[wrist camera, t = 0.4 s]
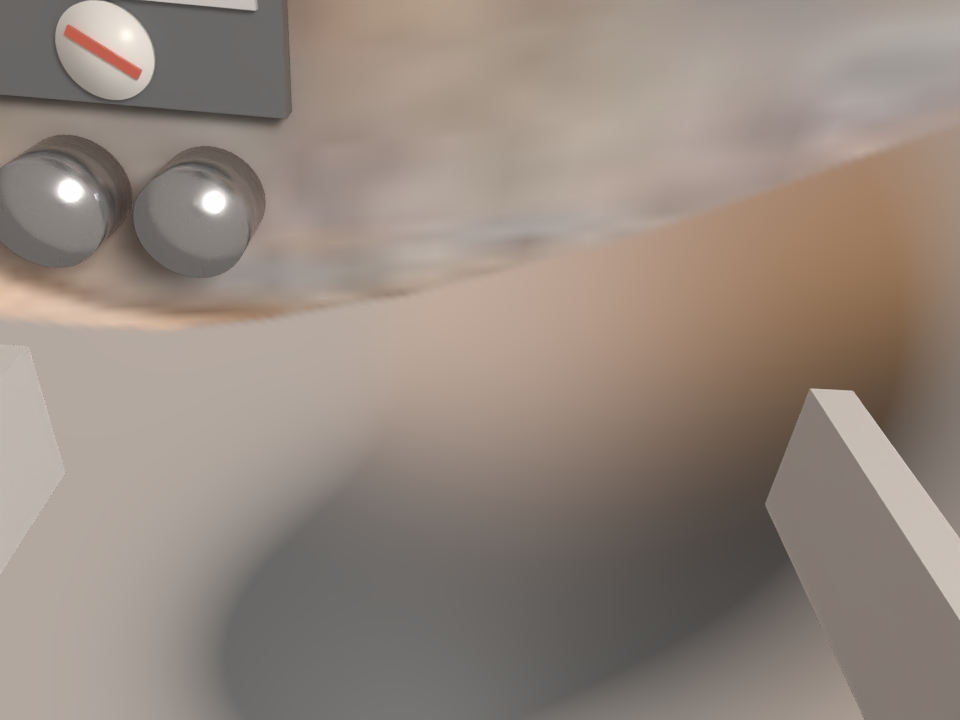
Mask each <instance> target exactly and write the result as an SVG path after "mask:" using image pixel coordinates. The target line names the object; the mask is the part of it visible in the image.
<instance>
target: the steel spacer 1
mask: <svg viewBox="0 0 960 720" xmlns="http://www.w3.org/2000/svg"><path fill="white" fill-rule="evenodd" d="M131 204H132V190H131V185H130V182H129V179H128V177H127V175H126V173H125V171H124V169H123V168H122V166H121V165H120V163H119V162H118V161H117V160H116V159H115V158H114V157H113V156H112V155H111V154H110V153H109V152H108V151H107V150H105V149H104V148H103V147H101V146H99V145H98V144H96V143H94V142H92V141H90V140H88V139H85V138H82V137H78V136H73V135H56V136H52V137H48V138H46V139H44V140H42V141H41V142H39V143H37V144H36V145H34V146H33V147H31V148H30V149H28V150H27V151H25V152H24V153H22V154H21V155H19V156H18V157H16V158H15V159H13V160H12V161H10V162H9V163H7V164H6V165H4V166H3V167H1V168H0V241H1V242H2V243H3V244H4V245H5V246H6V247H7V248H9V249H10V250H11V251H12V252H14V253H15V254H17V255H18V256H20V257H22V258H24V259H26V260H28V261H30V262H32V263H35V264H38V265H42V266H46V267H54V268H62V267H69V266H74V265H76V264H79V263H81V262H83V261H84V260H86V259H87V258H88V257H90V256H91V255H92V254H93V252H94V251H95V250H96V249H97V248H98V247H99V246H100V245H101V244H102V243H103V242H104V241H105V240H106V239H107V238H108V237H109V236H110V234H111V233H112V232H113V231H114V230H115V229H116V228H117V227H118V226H119V225H120V224H121V223H122V222H123V221H124V219H125V218H126V217H127V215H128V213H129V211H130V208H131Z"/></svg>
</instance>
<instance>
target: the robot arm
mask: <svg viewBox="0 0 960 720" xmlns="http://www.w3.org/2000/svg"><path fill="white" fill-rule="evenodd" d="M65 473H66V472H65V469H64V466H63V462H62V459H61V455H60V452H59V448H58V445H57V442H56V438H55V435H54V432H53V428H52V425H51V421H50V418H49V414H48V411H47V407H46V404H45V401H44V398H43V394H42V390H41V387H40V383H39V380H38V377H37V373H36V370H35V366H34V363H33V360H32V356H31V353H30V349H29V346H17V345H0V574H1V573H2V571H3V570H4V568H5V567H6V565H7V563H8V562H9V560H10V559H11V557H12V556H13V554H14V552H15V551H16V549H17V548H18V546H19V545H20V543H21V542H22V540H23V538H24V537H25V535H26V534H27V532H28V531H29V529H30V528H31V526H32V524H33V523H34V521H35V520H36V518H37V517H38V515H39V514H40V512H41V510H42V509H43V507H44V506H45V504H46V503H47V501H48V500H49V498H50V496H51V495H52V493H53V492H54V490H55V488H56V487H57V486H58V484H59V482H60V481H61V479H62V478H63V476H64V475H65ZM765 505H766V507H767V510H768V512H769V514H770V516H771V518H772V520H773V523H774V525H775V527H776V529H777V531H778V534H779V536H780V538H781V540H782V542H783V544H784V546H785V549H786V551H787V553H788V555H789V557H790V559H791V562H792V563H793V566H794V568H795V570H796V572H797V575H798V577H799V579H800V581H801V583H802V585H803V587H804V589H805V592H806V594H807V596H808V598H809V601H810V602H811V605H812V607H813V609H814V611H815V614H816V616H817V618H818V620H819V622H820V624H821V626H822V629H823V631H824V633H825V635H826V637H827V639H828V642H829V644H830V646H831V648H832V650H833V652H834V655H835V657H836V659H837V661H838V663H839V665H840V667H841V670H842V672H843V674H844V676H845V678H846V681H847V683H848V685H849V687H850V689H851V691H852V693H853V695H854V698H855V700H856V702H857V704H858V706H859V709H860V710H861V713H862V715H863V717H864V719H865V720H960V538H959V537H958V535H957V534H956V533H955V531H954V530H953V529H952V527H951V526H950V524H949V523H948V522H947V520H946V519H945V518H944V516H943V515H942V513H941V512H940V511H939V509H938V508H937V507H936V505H935V504H934V502H933V501H932V500H931V498H930V497H929V495H928V494H927V493H926V491H925V490H924V489H923V487H922V486H921V484H920V483H919V482H918V480H917V479H916V477H915V476H914V475H913V473H912V472H911V470H910V469H909V468H908V466H907V465H906V464H905V462H904V461H903V459H902V458H901V457H900V455H899V454H898V453H897V451H896V450H895V449H894V447H893V446H892V444H891V443H890V442H889V440H888V439H887V437H886V436H885V435H884V433H883V432H882V430H881V429H880V428H879V426H878V425H877V423H876V422H875V421H874V419H873V418H872V417H871V415H870V414H869V412H868V411H867V410H866V408H865V407H864V406H863V404H862V403H861V401H860V400H859V399H858V397H857V396H856V394H855V393H854V392H853V391H846V390H826V389H810V390H809V393H808V395H807V398H806V400H805V403H804V406H803V409H802V411H801V413H800V416H799V418H798V421H797V424H796V426H795V429H794V431H793V434H792V437H791V439H790V442H789V444H788V447H787V449H786V452H785V454H784V457H783V460H782V462H781V465H780V467H779V470H778V473H777V475H776V478H775V480H774V483H773V485H772V488H771V490H770V493H769V496H768V498H767V501H766V504H765Z"/></svg>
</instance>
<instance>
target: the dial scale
mask: <svg viewBox="0 0 960 720" xmlns="http://www.w3.org/2000/svg"><path fill="white" fill-rule="evenodd" d="M0 95H11V96H23V97H35V98H47V99H59V100H70V101H82V102H94V103H106V104H118V105H129V106H141V107H153V108H165V109H177V110H188V111H200V112H212V113H224V114H236V115H247V116H259V117H271V118H283V119H287V118H288V117H289V115H290V114H291V112H292V103H291V80H290V56H289V32H288V9H287V0H0Z"/></svg>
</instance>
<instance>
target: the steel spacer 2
mask: <svg viewBox="0 0 960 720" xmlns="http://www.w3.org/2000/svg"><path fill="white" fill-rule="evenodd" d="M264 212H265V194H264V190H263V187H262V184H261V182H260V180H259V178H258V176H257V175H256V173H255V172H254V171H253V169H252V168H251V167H250V166H249V165H248V164H247V163H246V162H245V161H243V160H242V159H241V158H239V157H238V156H236V155H235V154H233V153H231V152H229V151H226V150H224V149H220V148H216V147H210V146H201V147H194V148H190V149H187V150H185V151H183V152H181V153H179V154H178V155H177V156H176V157H174V158H173V159H172V160H171V161H170V162H169V163H168V164H167V165H166V166H165V167H164V168H163V169H162V170H161V171H160V172H159V173H158V174H157V175H156V176H155V178H154V179H153V180H152V181H151V182H150V183H149V184H148V185H147V186H146V187H145V188H144V189H143V190H142V191H141V192H140V194H139V196H138V197H137V200H136V202H135V206H134V210H133V221H134V227H135V231H136V234H137V236H138V238H139V240H140V242H141V244H142V246H143V247H144V248H145V250H146V251H147V252H148V253H149V255H150V256H151V257H152V258H154V259H155V260H156V261H157V262H158V263H160V264H161V265H162V266H164V267H166V268H167V269H169V270H171V271H173V272H175V273H178V274H181V275H185V276H189V277H196V278H205V277H212V276H217V275H219V274H222V273H224V272H226V271H228V270H229V269H231V268H232V267H233V266H234V265H235V264H236V263H237V262H238V261H239V259H240V258H241V256H242V255H243V253H244V251H245V249H246V247H247V246H248V244H249V242H250V240H251V239H252V237H253V235H254V233H255V232H256V230H257V228H258V226H259V224H260V223H261V221H262V219H263V216H264Z"/></svg>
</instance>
